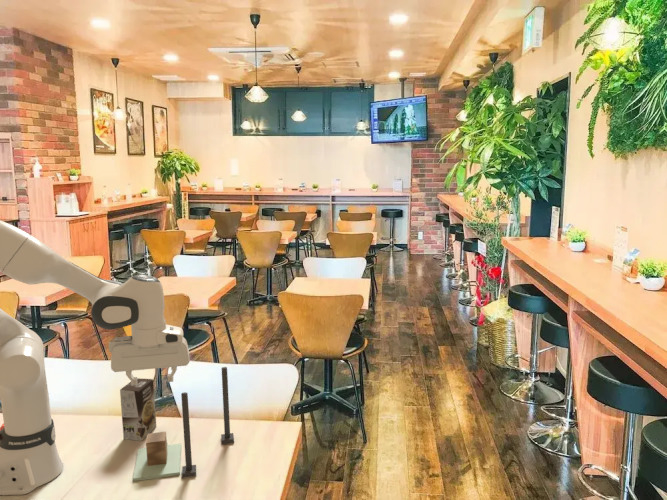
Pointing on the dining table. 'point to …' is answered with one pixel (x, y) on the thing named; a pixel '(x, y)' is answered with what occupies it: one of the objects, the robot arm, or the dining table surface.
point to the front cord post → (187, 440)
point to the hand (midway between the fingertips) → (152, 382)
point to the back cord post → (226, 410)
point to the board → (161, 470)
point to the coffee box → (138, 409)
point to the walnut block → (156, 448)
